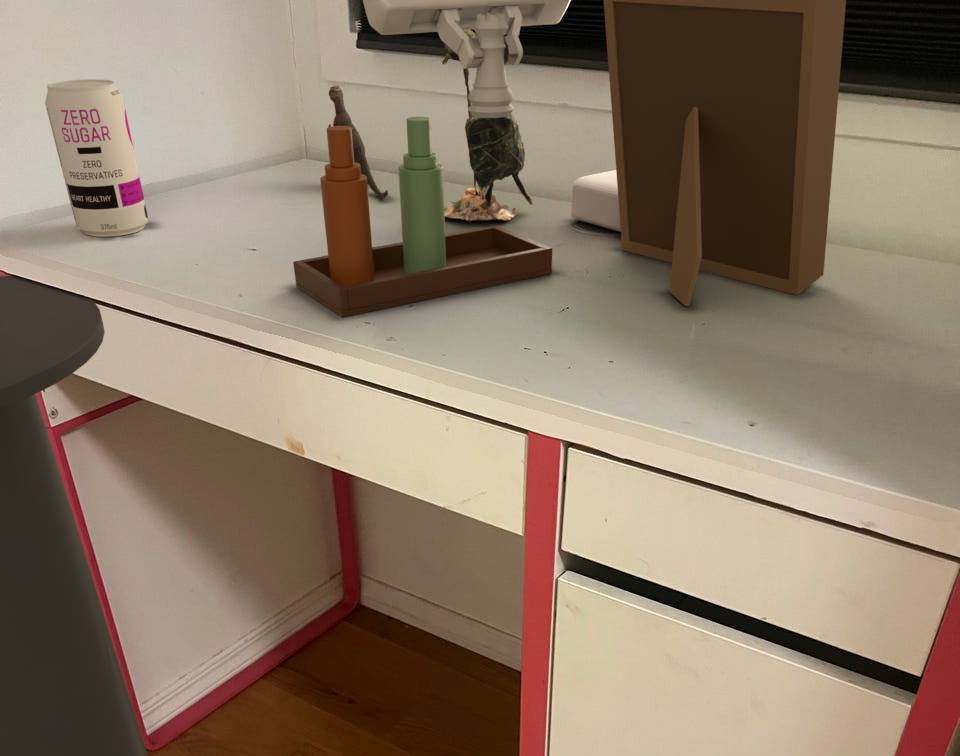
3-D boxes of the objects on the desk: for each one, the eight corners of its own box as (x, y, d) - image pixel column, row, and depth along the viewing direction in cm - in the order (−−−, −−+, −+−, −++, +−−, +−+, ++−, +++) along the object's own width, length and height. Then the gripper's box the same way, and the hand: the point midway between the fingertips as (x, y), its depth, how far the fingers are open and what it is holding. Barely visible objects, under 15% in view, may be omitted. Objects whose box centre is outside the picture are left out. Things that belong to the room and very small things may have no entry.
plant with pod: (505, 233, 110) (506, 27, 98) (428, 218, 115) (420, 22, 103) (544, 217, 115) (550, 20, 103) (469, 204, 120) (466, 16, 108)
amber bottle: (343, 299, 90) (327, 134, 82) (324, 287, 93) (307, 126, 84) (382, 291, 92) (371, 128, 83) (363, 280, 95) (350, 121, 86)
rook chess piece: (489, 120, 88) (489, 17, 83) (458, 114, 91) (455, 14, 86) (524, 114, 91) (525, 13, 86) (492, 108, 93) (491, 11, 88)
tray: (342, 317, 88) (339, 289, 86) (296, 287, 95) (292, 261, 93) (551, 273, 97) (552, 248, 96) (495, 249, 105) (495, 225, 103)
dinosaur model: (337, 81, 125) (401, 102, 116) (346, 177, 133) (407, 204, 124) (310, 86, 123) (373, 107, 114) (321, 183, 131) (381, 210, 122)
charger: (665, 248, 104) (570, 221, 113) (720, 233, 109) (625, 208, 118) (670, 202, 101) (572, 178, 110) (726, 188, 106) (628, 166, 115)
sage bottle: (417, 284, 93) (409, 124, 85) (397, 273, 96) (387, 117, 88) (454, 277, 95) (449, 119, 87) (433, 266, 98) (427, 113, 90)
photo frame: (647, 242, 106) (671, -33, 91) (821, 285, 93) (884, -26, 78) (555, 270, 98) (565, -25, 83) (732, 322, 85) (782, -17, 70)
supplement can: (134, 216, 118) (103, 76, 109) (160, 230, 112) (130, 84, 103) (68, 227, 114) (31, 83, 105) (92, 242, 109) (55, 91, 99)
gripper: (346, -102, 82) (398, 43, 81) (552, -104, 89) (601, 29, 88) (334, -40, 88) (382, 95, 87) (527, -47, 95) (574, 78, 94)
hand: (494, 62), depth 88 cm, fingers closed on rook chess piece, 3 cm apart
